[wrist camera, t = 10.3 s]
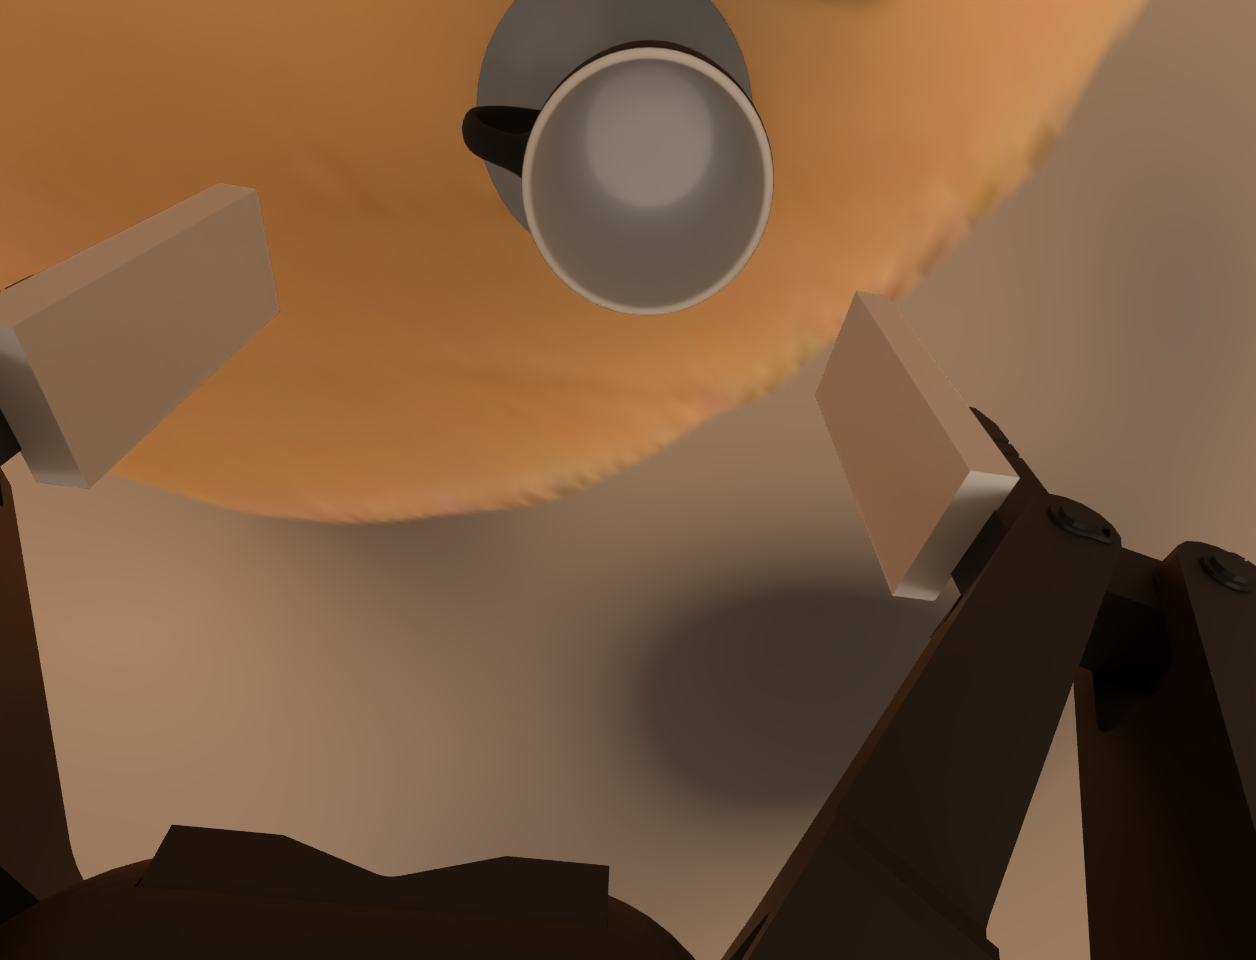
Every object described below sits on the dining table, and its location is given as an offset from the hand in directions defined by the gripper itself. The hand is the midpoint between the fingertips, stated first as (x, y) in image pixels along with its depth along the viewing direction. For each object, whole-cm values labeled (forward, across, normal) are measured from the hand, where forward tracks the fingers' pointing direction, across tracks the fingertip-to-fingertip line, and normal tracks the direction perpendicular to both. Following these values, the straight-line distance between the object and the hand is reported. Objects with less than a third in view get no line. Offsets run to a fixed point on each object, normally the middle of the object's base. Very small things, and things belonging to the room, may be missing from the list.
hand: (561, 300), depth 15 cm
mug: (+20, 0, 0) cm, 20 cm away
